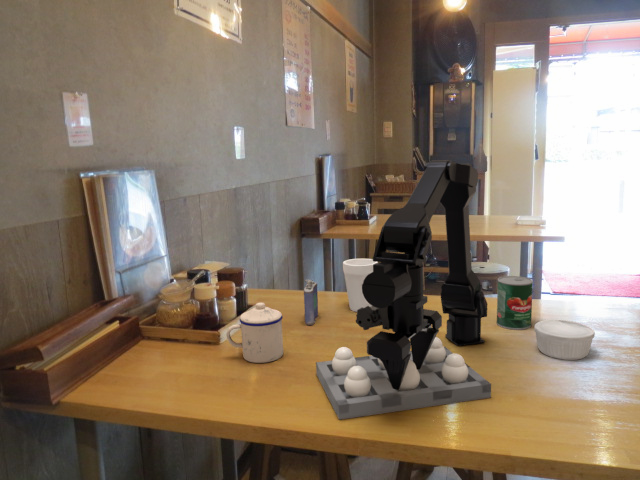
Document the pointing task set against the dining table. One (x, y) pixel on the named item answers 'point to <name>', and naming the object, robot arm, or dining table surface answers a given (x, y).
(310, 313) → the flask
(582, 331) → the ramekin
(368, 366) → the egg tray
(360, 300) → the foam cup
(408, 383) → the cream game piece
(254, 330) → the teacup with lid
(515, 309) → the canned tomato
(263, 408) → the dining table surface
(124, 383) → the dining table surface
